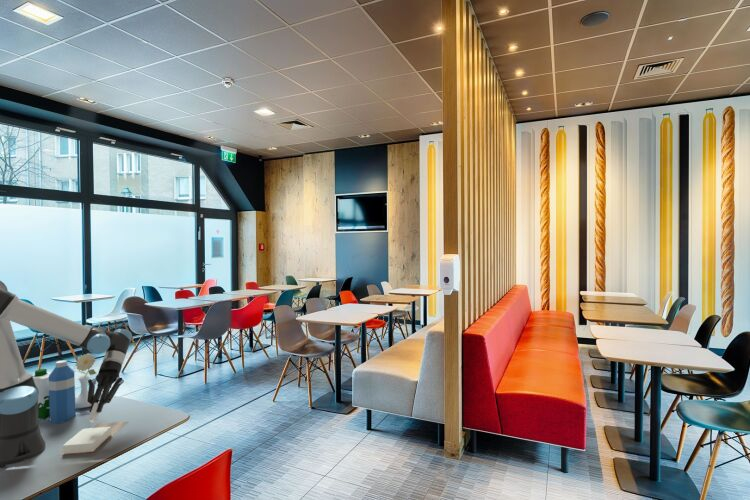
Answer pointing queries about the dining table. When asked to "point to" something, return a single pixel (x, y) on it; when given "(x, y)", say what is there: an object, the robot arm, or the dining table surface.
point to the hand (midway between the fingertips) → (91, 420)
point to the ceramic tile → (86, 440)
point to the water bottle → (61, 393)
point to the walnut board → (114, 429)
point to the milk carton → (42, 392)
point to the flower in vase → (84, 379)
